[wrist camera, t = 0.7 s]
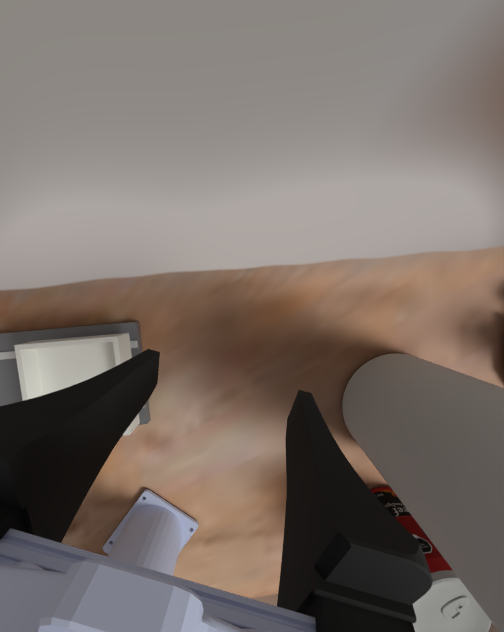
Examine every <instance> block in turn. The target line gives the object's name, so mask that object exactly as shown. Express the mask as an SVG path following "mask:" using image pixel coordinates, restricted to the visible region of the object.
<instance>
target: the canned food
mask: <svg viewBox="0 0 504 632" xmlns="http://www.w3.org/2000/svg"><path fill="white" fill-rule="evenodd" d="M371 492H372V493H373V494H374V495H375V496H376V497H377V499H378V500H379V501H380V502H381V503H382V504H383V505H384V506H385V507H386V509H387V510H388V511H389V512H390V513H391V514H392V515H393V516H394V517H395V518H396V519H397V520H398V521H399V522H400V523H401V524H402V525H403V526H404V527H405V528H406V529H407V530H408V531H409V532H410V533H411V534H412V535H413V536H414V537H415V538H416V539H417V540H418V541H419V544H420V546H421V548H422V551H423V553H424V555H425V558H426V561H427V564H428V567H429V570H430V573H431V576H432V578H433V583H432V586H431V588H430V590H429V591H428V592H427V593H426V594H425V595H423V596H422V597H421V598H420V599H418V600H417V601H416V602H415V603H413V608H414V611H415V614H416V618H417V619H416V622H415V623H413V626H414V630H415V632H488V630H489V628H490V625H491V620H490V619H489V617H488V616H487V615H486V613H485V612H484V611H483V609H482V608H481V607H480V605H479V604H478V603H477V601H476V600H475V599H474V597H473V596H472V595H471V593H470V592H469V591H468V590H467V588H466V587H465V586H464V584H463V583H462V582H461V580H460V579H459V578H458V576H457V575H456V574H455V572H454V571H453V570H452V568H451V567H450V566H449V564H448V563H447V562H446V560H445V559H444V558H443V556H442V555H441V554H440V552H439V551H438V550H437V548H436V547H435V546H434V544H433V543H432V542H431V540H430V539H429V538H428V536H427V535H426V534H425V532H424V531H423V530H422V528H421V527H420V526H419V524H418V523H417V522H416V520H415V519H414V518H413V516H412V515H411V514H410V512H409V511H408V510H407V508H406V507H405V506H404V504H403V503H402V502H401V500H400V499H399V498H398V496H397V495H396V494H395V492H394V491H393V490H392V488H391V487H378V488H375V489H372V490H371Z"/></svg>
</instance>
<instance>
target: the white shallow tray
mask: <svg viewBox="0 0 504 632" xmlns="http://www.w3.org/2000/svg"><path fill="white" fill-rule="evenodd" d="M14 347H15V354H16V360H17V367H18V373H19V380H20V387H21V393H22V400H23V401H24V400H28V399H32V398H35V397H39V396H42V395H45V394H49V393H52V392H55V391H58V390H61V389H64V388H67V387H70V386H72V385H75V384H78V383H80V382H83V381H85V380H88V379H90V378H92V377H94V376H97V375H99V374H101V373H103V372H105V371H107V370H109V369H112V368H113V367H115V366H117V365H119V364H121V363H123V362H125V361H127V360H129V359H131V358H132V354H131V345H130V337H129V333H121V334H109V335H98V336H86V337H75V338H63V339H52V340H40V341H32V342H27V343H23V344H18V345H14ZM139 423H140V420H139V413H138V415H137V416H136V417H135V419H134V420H133V422H132V423H131V424H130V426H129V427H128V428H127V430H126V431H125V432H124V434H123V435H130V434H131V433H132V432H133V430H134V429H135V428H136V427H137V426H138V424H139ZM123 435H122V436H123Z"/></svg>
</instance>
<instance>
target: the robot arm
mask: <svg viewBox="0 0 504 632" xmlns="http://www.w3.org/2000/svg"><path fill="white" fill-rule="evenodd" d="M159 356H160V352H157V351H153V350H150V349H147V350H146V351H144V352H142V353H140V354H138V355H136V356H134V357H132V358H131V359H129V360H127V361H125V362H123V363H121V364H119V365H117V366H115V367H113V368H112V369H109V370H107V371H105V372H103V373H101V374H99V375H97V376H94V377H92V378H90V379H88V380H85V381H83V382H80V383H78V384H75V385H72V386H70V387H67V388H64V389H61V390H58V391H55V392H52V393H49V394H45V395H42V396H39V397H35V398H32V399H28V400H24V401H20V402H16V403H12V404H8V405H3V406H0V632H415V630H414V626H413V623H415V622H416V619H417V618H416V614H415V611H414V608H413V603H415V602H416V601H417V600H418V599H420V598H421V597H422V596H423V595H425V594H426V593H427V592H428V591H429V590H430V588H431V586H432V583H433V578H432V576H431V573H430V570H429V567H428V564H427V561H426V558H425V555H424V553H423V551H422V548H421V546H420V544H419V541H418V540H417V539H416V538H415V537H414V536H413V535H412V534H411V533H410V532H409V531H408V530H407V529H406V528H405V527H404V526H403V525H402V524H401V523H400V522H399V521H398V520H397V519H396V518H395V517H394V516H393V515H392V514H391V513H390V512H389V511H388V510H387V509H386V507H385V506H384V505H383V504H382V503H381V502H380V501H379V500H378V499H377V497H376V496H375V495H374V494H373V493H372V492H371V490H370V489H369V488H368V487H367V485H366V484H365V483H364V482H363V480H362V479H361V478H360V477H359V475H358V474H357V473H356V471H355V470H354V469H353V467H352V466H351V464H350V463H349V462H348V460H347V459H346V457H345V456H344V454H343V453H342V451H341V450H340V448H339V446H338V445H337V443H336V441H335V440H334V438H333V436H332V434H331V432H330V431H329V429H328V427H327V425H326V423H325V421H324V419H323V417H322V415H321V413H320V411H319V409H318V407H317V404H316V402H315V400H314V398H313V396H312V394H311V393H309V392H305V391H301V390H299V391H298V394H297V396H296V399H295V401H294V404H293V406H292V409H291V411H290V414H289V416H288V419H287V429H286V473H287V500H286V515H285V529H284V541H283V553H282V563H281V574H280V584H279V593H278V603H277V606H274V605H270V604H267V603H264V602H260V601H256V600H253V599H250V598H247V597H243V596H240V595H236V594H233V593H229V592H226V591H223V590H219V589H216V588H212V587H209V586H206V585H202V584H199V583H195V582H192V581H189V580H185V579H182V578H178V577H175V576H173V573H174V569H175V565H176V561H177V558H178V554H179V552H180V551H181V549H182V548H183V547H184V545H185V544H186V543H187V541H188V540H189V539H190V537H191V536H192V535H193V533H194V532H195V531H196V529H197V528H198V522H197V521H195V520H194V519H192V518H191V517H189V516H188V515H186V514H185V513H183V512H182V511H180V510H179V509H177V508H176V507H174V506H173V505H171V504H170V503H168V502H167V501H165V500H164V499H162V498H161V497H159V496H158V495H156V494H155V493H153V492H152V491H150V490H148V489H146V490H144V491H143V493H142V494H141V496H140V497H139V498H138V500H137V501H136V502H135V504H134V505H133V506H132V508H131V509H130V511H129V512H128V513H127V515H126V516H125V517H124V519H123V520H122V521H121V523H120V524H119V525H118V527H117V528H116V530H115V531H114V532H113V534H112V535H111V536H110V538H109V539H108V540H107V542H106V543H105V545H104V546H103V551H104V552H105V553H107V554H108V556H103V555H100V554H96V553H93V552H90V551H86V550H83V549H79V548H76V547H73V546H69V545H66V544H62V543H61V542H62V540H63V538H64V536H65V534H66V532H67V530H68V528H69V526H70V524H71V522H72V520H73V518H74V517H75V515H76V513H77V511H78V509H79V507H80V506H81V504H82V502H83V500H84V498H85V496H86V495H87V493H88V491H89V489H90V487H91V486H92V484H93V482H94V480H95V479H96V477H97V475H98V473H99V472H100V470H101V468H102V466H103V465H104V463H105V461H106V460H107V458H108V456H109V455H110V453H111V451H112V450H113V448H114V447H115V445H116V444H117V442H118V441H119V439H120V438H121V436H122V435H123V434H124V432H125V431H126V430H127V428H128V427H129V426H130V424H131V423H132V422H133V420H134V419H135V417H136V416H137V415H138V413H139V412H140V411H141V409H142V408H143V407H144V405H145V404H146V402H147V401H148V399H149V397H150V396H151V394H152V392H153V390H154V389H155V387H156V385H157V381H158V368H159ZM144 497H146V498H144ZM190 528H193V529H190ZM112 541H113V542H112Z"/></svg>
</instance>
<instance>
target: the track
mask: <svg viewBox="0 0 504 632" xmlns="http://www.w3.org/2000/svg"><path fill="white" fill-rule="evenodd" d="M121 333H129V337H130V345H131V354H132V357H134V356H136V355H138V354H140V353H142V345H141V337H140V328H139V321H136V322H124V323H113V324H101V325H89V326H78V327H66V328H55V329H43V330H31V331H20V332H8V333H0V406H3V405H8V404H12V403H16V402H20V401H23V400H22V393H21V387H20V380H19V373H18V367H17V360H16V354H15V347H14V345H18V344H23V343H27V342H32V341H40V340H52V339H63V338H75V337H86V336H98V335H109V334H121ZM139 420H140V423H139V424H138V425H141V424H147V423H148V422H149V421H150V413H149V405H148V401H147V402H146V404H145V405H144V407H143V408H142V409H141V411H140V412H139Z"/></svg>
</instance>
